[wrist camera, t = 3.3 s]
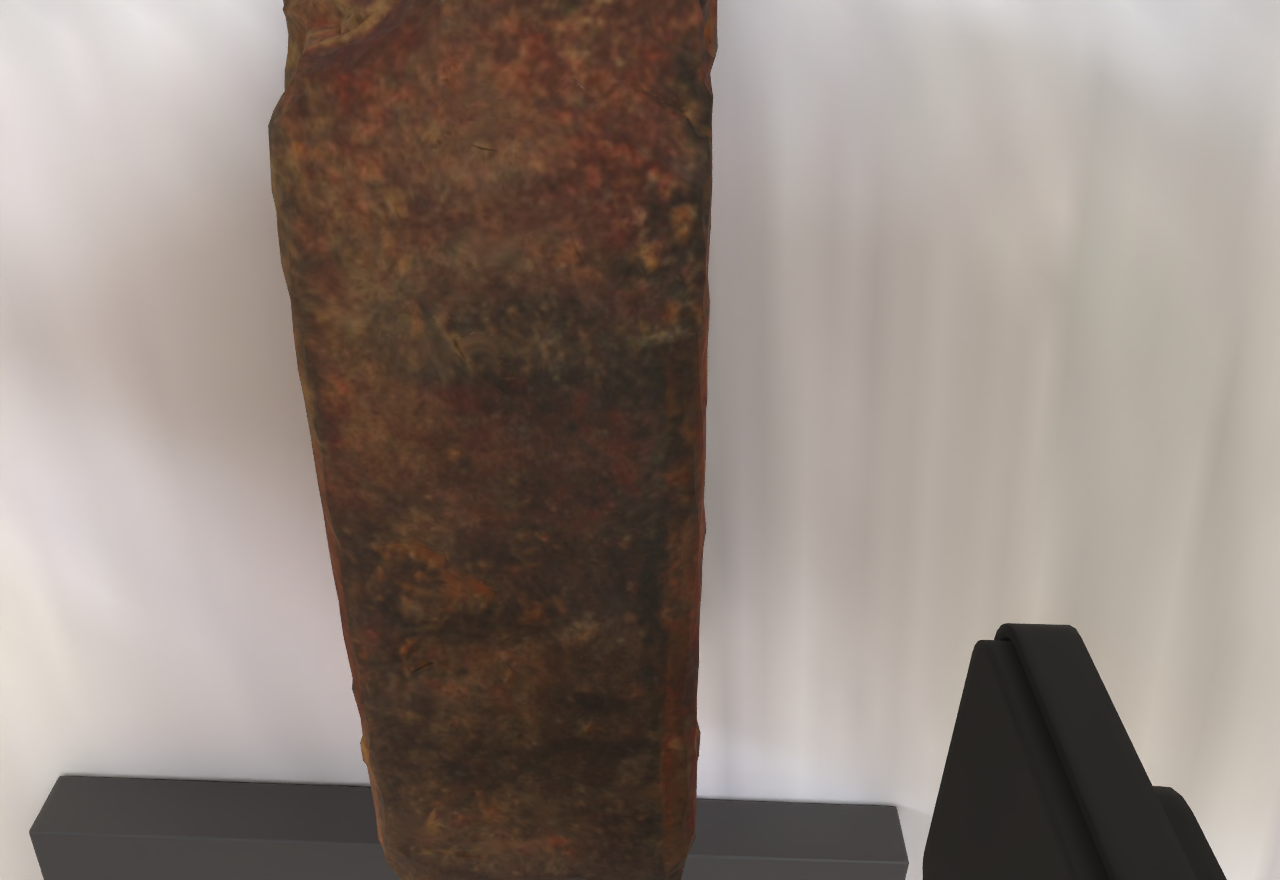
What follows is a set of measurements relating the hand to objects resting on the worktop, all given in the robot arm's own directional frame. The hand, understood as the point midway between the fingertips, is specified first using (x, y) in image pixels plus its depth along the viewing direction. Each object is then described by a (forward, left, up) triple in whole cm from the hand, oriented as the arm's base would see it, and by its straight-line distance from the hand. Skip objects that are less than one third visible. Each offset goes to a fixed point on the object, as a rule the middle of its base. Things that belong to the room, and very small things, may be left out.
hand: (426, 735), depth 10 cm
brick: (-1, 0, -7) cm, 7 cm away
